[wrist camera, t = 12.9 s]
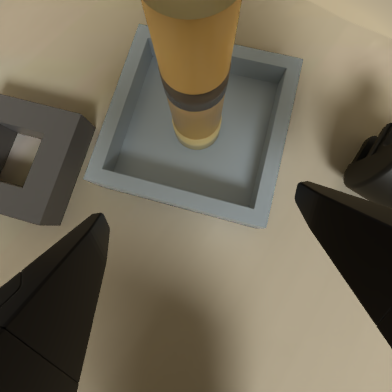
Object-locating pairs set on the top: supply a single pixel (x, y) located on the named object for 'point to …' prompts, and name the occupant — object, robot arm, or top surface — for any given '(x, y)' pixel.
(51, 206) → the block
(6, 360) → the robot arm
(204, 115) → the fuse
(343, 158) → the top surface
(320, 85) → the top surface
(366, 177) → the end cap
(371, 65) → the top surface
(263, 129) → the parts tray
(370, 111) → the top surface
